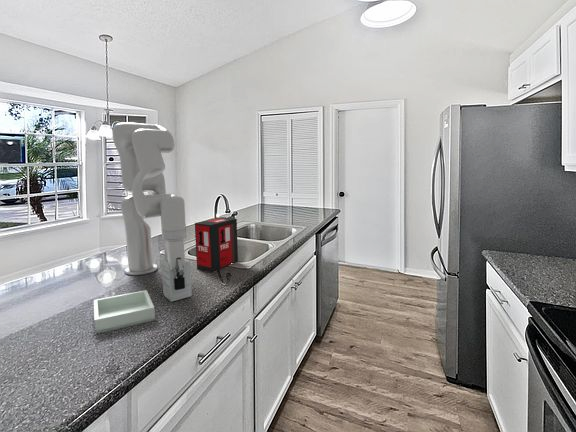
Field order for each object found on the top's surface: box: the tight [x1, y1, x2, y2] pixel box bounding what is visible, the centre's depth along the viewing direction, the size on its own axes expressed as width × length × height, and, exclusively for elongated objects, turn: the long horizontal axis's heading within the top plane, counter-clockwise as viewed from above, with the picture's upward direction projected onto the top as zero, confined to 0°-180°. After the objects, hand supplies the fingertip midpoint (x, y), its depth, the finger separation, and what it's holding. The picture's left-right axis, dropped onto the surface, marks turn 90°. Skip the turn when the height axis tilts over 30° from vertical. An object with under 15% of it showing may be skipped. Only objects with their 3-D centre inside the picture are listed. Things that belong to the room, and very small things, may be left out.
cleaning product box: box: [194, 216, 239, 273], centre depth 145 cm, size 16×9×20 cm, turn 150°
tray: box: [93, 289, 156, 334], centre depth 99 cm, size 15×15×4 cm
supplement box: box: [160, 258, 193, 303], centre depth 112 cm, size 7×7×13 cm
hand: (176, 284), depth 113 cm, fingers closed on supplement box, 8 cm apart
